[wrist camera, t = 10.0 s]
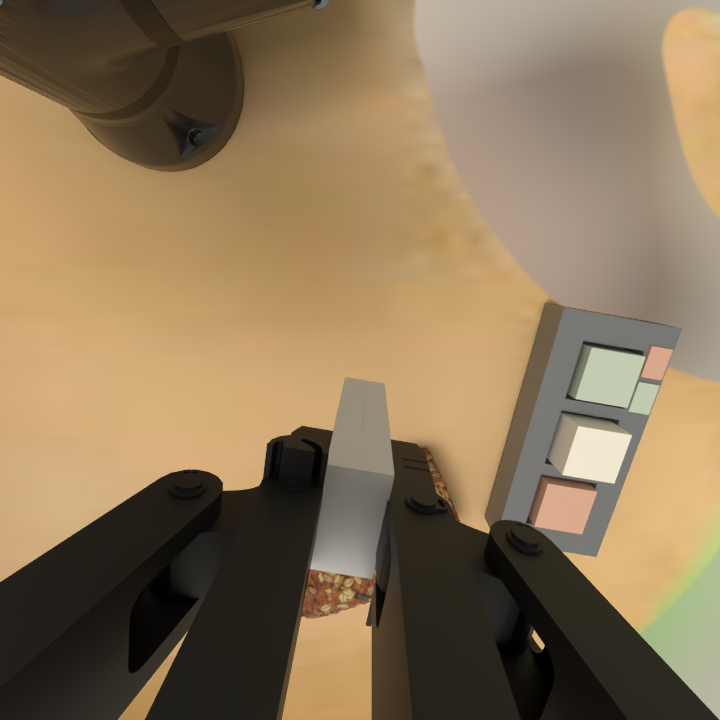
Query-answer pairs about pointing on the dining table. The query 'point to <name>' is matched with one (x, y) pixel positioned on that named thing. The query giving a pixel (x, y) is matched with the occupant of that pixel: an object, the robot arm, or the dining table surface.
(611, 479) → the key cream
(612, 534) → the dining table surface
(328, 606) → the bread
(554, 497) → the key terracotta
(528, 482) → the keypad board
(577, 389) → the key sage
